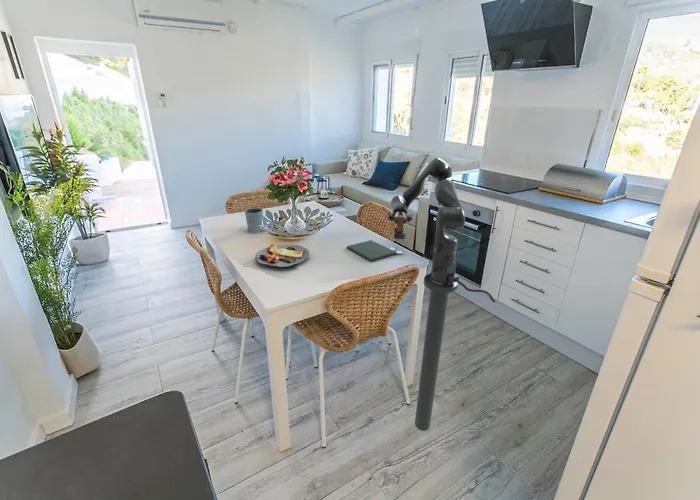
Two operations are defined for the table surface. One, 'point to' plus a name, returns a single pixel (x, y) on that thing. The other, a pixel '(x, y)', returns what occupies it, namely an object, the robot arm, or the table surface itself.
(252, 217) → the grey-green cup
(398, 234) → the brown block with base
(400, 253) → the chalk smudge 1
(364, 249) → the slate
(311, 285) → the table surface
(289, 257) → the food plate
